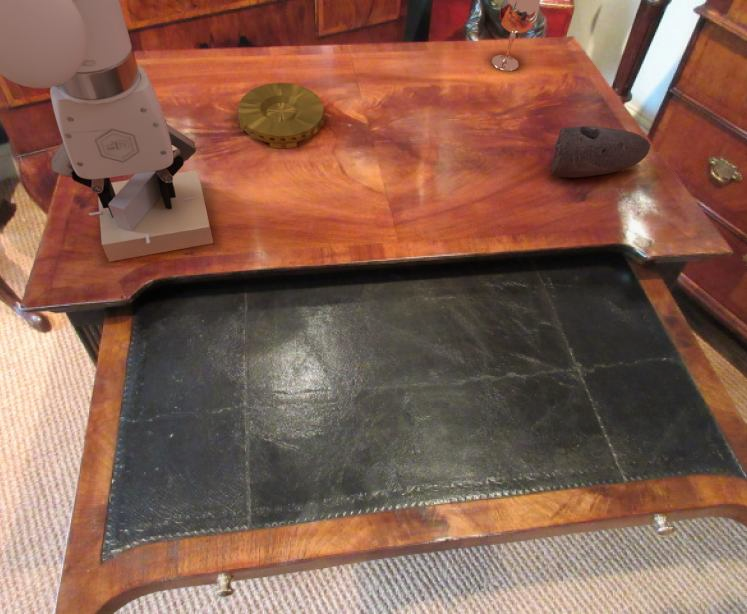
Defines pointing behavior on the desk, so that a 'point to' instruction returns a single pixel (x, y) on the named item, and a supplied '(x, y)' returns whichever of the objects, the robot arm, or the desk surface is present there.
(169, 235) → the tap plate
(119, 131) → the robot arm
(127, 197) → the grey rectangular block
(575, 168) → the perforated stone tool
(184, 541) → the desk surface
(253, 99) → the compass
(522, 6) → the wineglass
